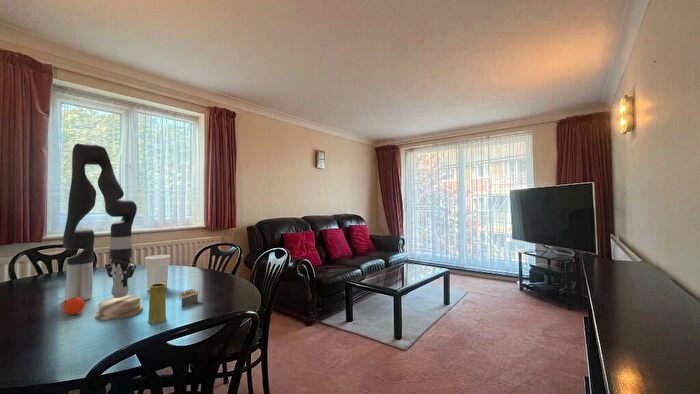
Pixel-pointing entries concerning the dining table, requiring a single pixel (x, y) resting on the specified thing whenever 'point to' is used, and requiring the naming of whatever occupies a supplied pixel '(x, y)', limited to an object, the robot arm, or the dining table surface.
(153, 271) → the cup
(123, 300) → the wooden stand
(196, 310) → the dining table surface
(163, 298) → the vase
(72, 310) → the clementine
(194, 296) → the platform
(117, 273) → the salt shaker
